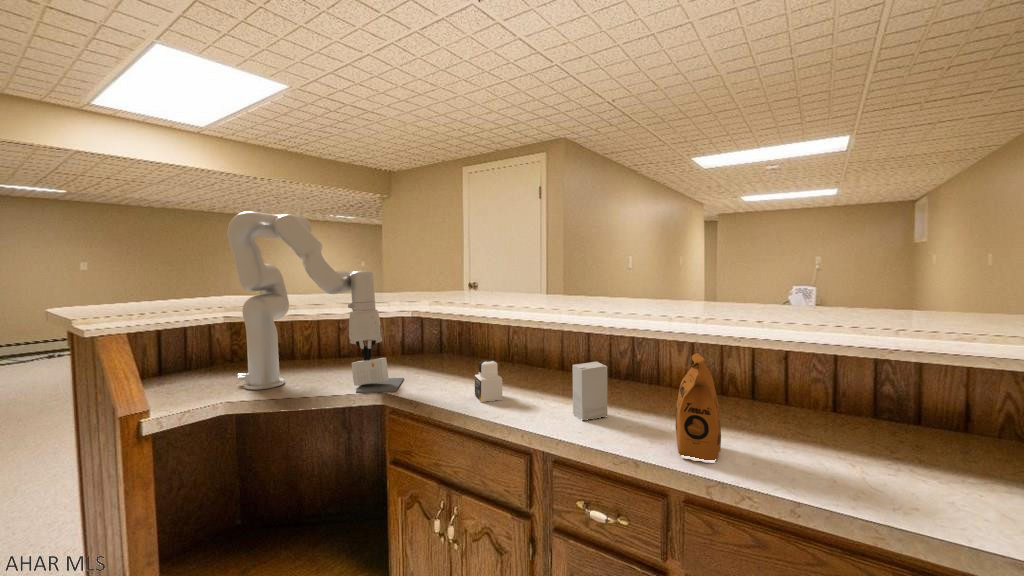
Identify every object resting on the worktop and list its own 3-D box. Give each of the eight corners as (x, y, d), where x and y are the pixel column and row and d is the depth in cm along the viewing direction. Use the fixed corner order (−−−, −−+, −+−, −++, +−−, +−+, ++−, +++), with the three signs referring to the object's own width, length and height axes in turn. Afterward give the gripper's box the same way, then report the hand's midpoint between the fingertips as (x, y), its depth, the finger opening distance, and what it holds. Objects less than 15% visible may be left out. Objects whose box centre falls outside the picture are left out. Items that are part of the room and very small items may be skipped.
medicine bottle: (474, 396, 150) (474, 359, 149) (495, 393, 152) (495, 357, 151) (480, 402, 143) (480, 364, 142) (502, 400, 146) (502, 362, 145)
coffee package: (671, 459, 103) (673, 361, 102) (676, 439, 115) (678, 350, 113) (720, 467, 99) (723, 366, 98) (720, 445, 111) (723, 354, 109)
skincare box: (597, 411, 135) (597, 360, 134) (608, 418, 129) (609, 365, 128) (571, 415, 132) (571, 363, 131) (581, 422, 126) (582, 368, 125)
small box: (359, 383, 164) (389, 380, 163) (353, 386, 158) (383, 382, 157) (357, 360, 164) (386, 357, 164) (351, 362, 159) (381, 358, 158)
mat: (355, 392, 154) (355, 391, 154) (367, 379, 170) (367, 378, 170) (395, 392, 155) (395, 390, 155) (403, 379, 170) (403, 377, 170)
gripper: (338, 309, 155) (342, 363, 157) (383, 306, 156) (387, 360, 158) (344, 306, 163) (348, 358, 164) (388, 304, 164) (391, 356, 165)
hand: (367, 359), depth 161 cm, fingers closed
